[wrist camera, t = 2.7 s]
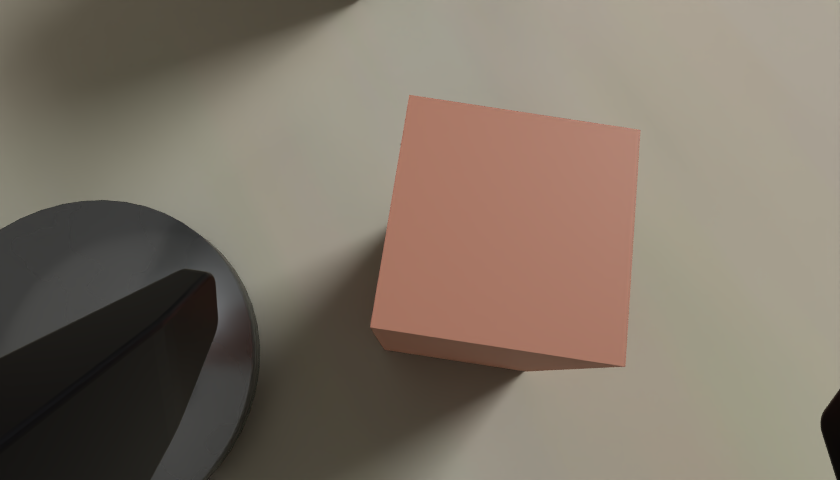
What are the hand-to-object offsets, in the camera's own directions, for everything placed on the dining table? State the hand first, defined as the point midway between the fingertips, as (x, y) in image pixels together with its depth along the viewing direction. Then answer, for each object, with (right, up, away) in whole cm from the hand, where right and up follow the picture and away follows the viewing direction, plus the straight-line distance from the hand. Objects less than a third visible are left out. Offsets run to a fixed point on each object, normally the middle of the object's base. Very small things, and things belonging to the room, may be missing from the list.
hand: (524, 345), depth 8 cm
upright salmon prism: (0, 0, +11) cm, 11 cm away
